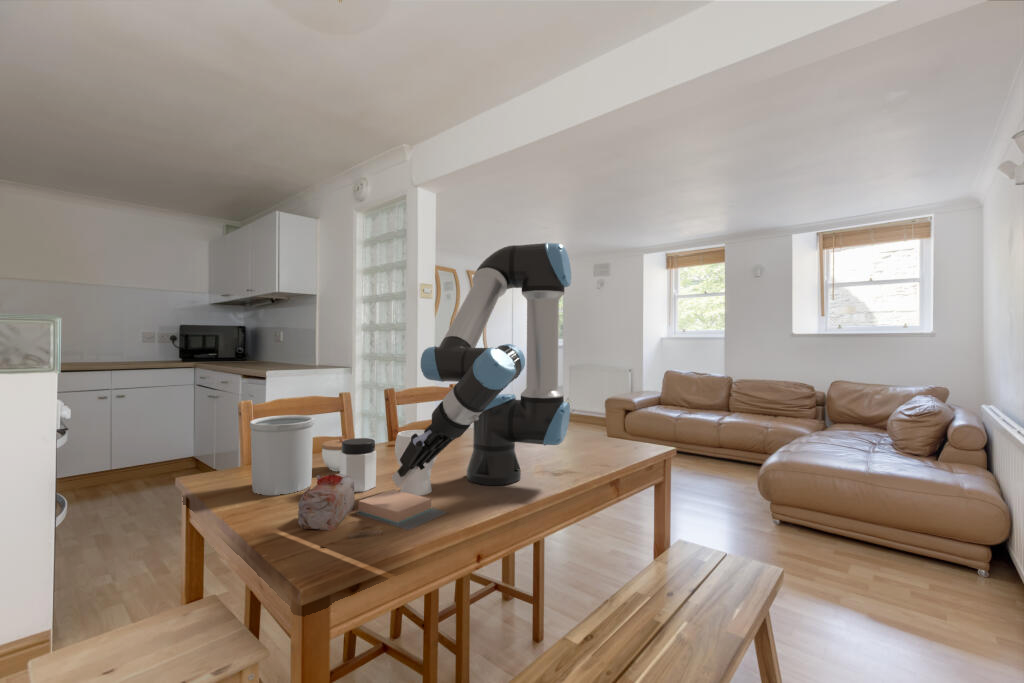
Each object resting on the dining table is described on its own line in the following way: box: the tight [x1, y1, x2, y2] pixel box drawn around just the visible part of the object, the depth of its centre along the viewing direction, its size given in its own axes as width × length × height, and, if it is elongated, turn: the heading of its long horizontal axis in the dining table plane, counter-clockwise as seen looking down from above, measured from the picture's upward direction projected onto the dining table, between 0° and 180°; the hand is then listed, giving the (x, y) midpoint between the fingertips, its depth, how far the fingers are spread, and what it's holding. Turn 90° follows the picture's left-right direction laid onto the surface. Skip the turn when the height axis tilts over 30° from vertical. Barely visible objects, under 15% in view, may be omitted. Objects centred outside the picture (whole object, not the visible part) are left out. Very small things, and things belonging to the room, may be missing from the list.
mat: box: [354, 507, 449, 531], centre depth 102 cm, size 16×12×1 cm
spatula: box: [319, 528, 383, 550], centre depth 89 cm, size 11×4×1 cm, turn 113°
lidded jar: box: [321, 436, 349, 472], centre depth 139 cm, size 11×11×9 cm
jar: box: [339, 437, 377, 493], centre depth 121 cm, size 9×8×12 cm
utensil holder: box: [249, 414, 315, 496], centre depth 121 cm, size 15×15×18 cm
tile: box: [357, 488, 432, 524], centre depth 103 cm, size 2×10×12 cm
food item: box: [297, 473, 356, 531], centre depth 98 cm, size 14×8×10 cm, turn 1°
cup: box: [394, 429, 438, 496], centre depth 117 cm, size 11×11×15 cm
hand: (396, 481), depth 103 cm, fingers closed
